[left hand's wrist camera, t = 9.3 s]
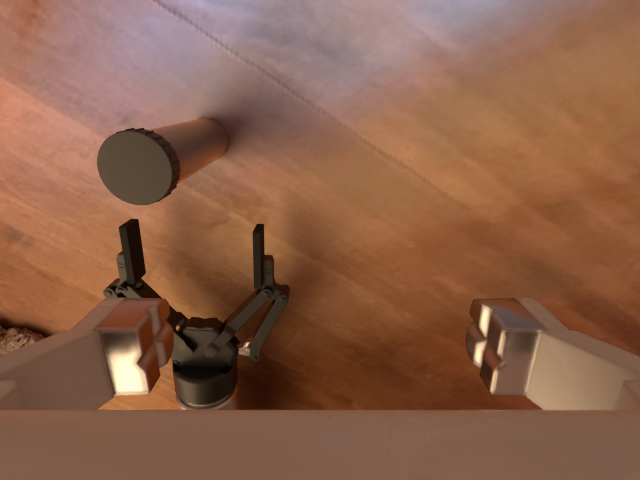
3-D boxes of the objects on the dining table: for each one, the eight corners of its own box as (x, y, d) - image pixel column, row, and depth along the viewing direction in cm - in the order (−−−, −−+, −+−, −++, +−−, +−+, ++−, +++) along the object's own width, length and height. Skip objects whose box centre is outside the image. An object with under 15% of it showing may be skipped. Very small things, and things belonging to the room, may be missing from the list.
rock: (-39, 361, 53) (-80, 390, 48) (-27, 305, 50) (-69, 330, 45) (67, 401, 56) (40, 433, 50) (86, 350, 52) (59, 379, 47)
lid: (110, 119, 26) (97, 120, 25) (185, 138, 27) (177, 141, 25) (106, 190, 28) (94, 195, 26) (177, 207, 28) (168, 213, 27)
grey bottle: (190, 113, 41) (105, 126, 25) (231, 124, 42) (174, 144, 26) (184, 154, 43) (102, 191, 27) (224, 164, 43) (167, 207, 27)
